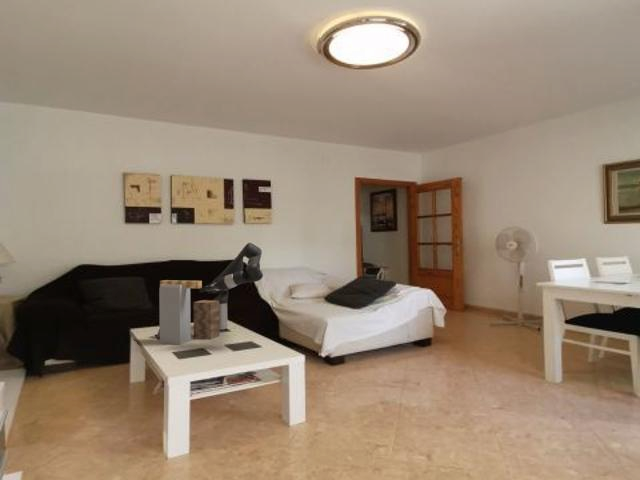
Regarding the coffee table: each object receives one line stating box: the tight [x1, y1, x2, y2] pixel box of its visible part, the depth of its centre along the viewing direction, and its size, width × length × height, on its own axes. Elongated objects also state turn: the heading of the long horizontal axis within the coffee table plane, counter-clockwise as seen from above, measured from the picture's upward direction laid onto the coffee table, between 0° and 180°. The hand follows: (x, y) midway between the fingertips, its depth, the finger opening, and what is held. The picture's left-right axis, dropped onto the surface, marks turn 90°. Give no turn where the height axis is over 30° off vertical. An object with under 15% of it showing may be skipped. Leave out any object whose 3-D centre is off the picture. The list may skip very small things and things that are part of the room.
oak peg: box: [159, 279, 203, 289], centre depth 241 cm, size 26×4×4 cm, turn 72°
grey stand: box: [158, 284, 192, 345], centre depth 242 cm, size 14×10×34 cm
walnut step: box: [192, 299, 221, 340], centre depth 254 cm, size 12×10×22 cm
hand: (203, 291), depth 235 cm, fingers open, 8 cm apart
